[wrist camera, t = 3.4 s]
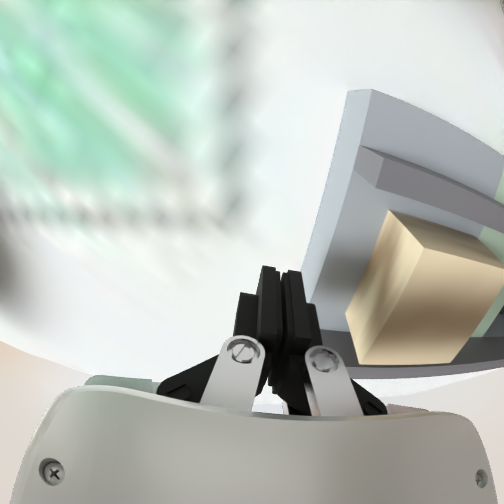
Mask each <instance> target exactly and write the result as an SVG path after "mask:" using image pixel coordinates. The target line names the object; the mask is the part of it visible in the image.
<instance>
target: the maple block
mask: <svg viewBox="0 0 504 504" xmlns="http://www.w3.org/2000/svg"><path fill="white" fill-rule="evenodd" d="M503 285H504V264H503V263H502V262H501V261H500V260H499V259H498V258H497V257H496V256H495V255H494V254H493V253H492V252H491V251H490V250H489V249H488V248H487V247H486V246H485V245H484V244H483V243H482V242H481V241H479V240H478V239H477V238H476V237H475V236H473V235H470V234H467V233H464V232H461V231H458V230H455V229H452V228H449V227H446V226H443V225H440V224H437V223H434V222H430V221H427V220H424V219H420V218H417V217H414V216H410V215H407V214H403V213H400V212H396V211H393V210H389V209H388V212H387V215H386V217H385V220H384V223H383V226H382V228H381V231H380V234H379V236H378V239H377V242H376V244H375V247H374V249H373V252H372V254H371V257H370V259H369V261H368V264H367V266H366V269H365V271H364V273H363V276H362V278H361V280H360V283H359V285H358V287H357V289H356V292H355V294H354V296H353V298H352V300H351V302H350V305H349V307H348V309H347V311H346V313H345V315H346V319H347V322H348V326H349V329H350V332H351V336H352V339H353V343H354V347H355V350H356V354H357V358H358V361H359V364H366V365H417V364H440V363H450V362H451V361H452V360H453V359H454V357H455V356H456V355H457V354H458V352H459V351H460V350H461V348H462V347H463V346H464V345H465V343H466V342H467V341H468V339H469V338H470V336H471V335H472V334H473V332H474V331H475V329H476V328H477V327H478V325H479V324H480V322H481V321H482V319H483V318H484V316H485V315H486V313H487V312H488V310H489V308H490V307H491V305H492V304H493V302H494V300H495V299H496V297H497V295H498V294H499V292H500V290H501V288H502V287H503Z"/></svg>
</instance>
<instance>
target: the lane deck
mask: <svg viewBox="0 0 504 504" xmlns="http://www.w3.org/2000/svg"><path fill="white" fill-rule="evenodd" d="M388 209H389V210H393V211H396V212H400V213H403V214H407V215H410V216H414V217H417V218H420V219H424V220H427V221H430V222H434V223H437V224H440V225H443V226H446V227H449V228H452V229H455V230H458V231H461V232H464V233H467V234H470V235H473V236H475V237H476V238H477V239H478V240H479V241H481V242H482V243H483V244H484V245H485V246H486V247H487V248H488V249H489V250H490V251H491V252H492V253H493V254H494V255H495V256H496V257H497V258H498V259H499V260H500V261H501V262H502V263H503V264H504V156H502V155H501V154H499V153H498V152H497V151H495V150H494V149H492V148H491V147H489V146H487V145H486V144H484V143H483V142H481V141H480V140H478V139H476V138H475V137H473V136H471V135H470V134H468V133H466V132H464V131H463V130H461V129H459V128H457V127H456V126H454V125H452V124H450V123H448V122H446V121H444V120H442V119H440V118H439V117H437V116H435V115H432V114H430V113H428V112H426V111H424V110H422V109H420V108H418V107H415V106H413V105H411V104H409V103H406V102H404V101H402V100H399V99H397V98H394V97H392V96H389V95H387V94H384V93H382V92H379V91H376V90H373V89H366V90H355V91H348V93H347V98H346V103H345V107H344V112H343V116H342V121H341V125H340V130H339V134H338V138H337V142H336V146H335V151H334V155H333V159H332V163H331V167H330V171H329V174H328V178H327V182H326V186H325V190H324V193H323V197H322V201H321V204H320V208H319V212H318V215H317V219H316V222H315V226H314V229H313V233H312V236H311V239H310V243H309V246H308V250H307V253H306V256H305V259H304V263H303V266H302V269H301V273H302V278H303V284H304V290H305V296H306V302H307V303H312V304H315V306H316V311H317V316H318V321H319V326H320V332H321V337H322V343H323V346H326V347H329V348H332V349H333V350H335V351H336V352H337V353H338V354H339V355H340V356H341V358H342V360H343V362H344V365H345V367H346V370H347V372H348V375H349V377H350V378H351V379H397V378H418V377H432V376H443V375H453V374H462V373H469V372H477V371H483V370H489V369H495V368H501V367H504V285H503V287H502V288H501V290H500V292H499V294H498V295H497V297H496V299H495V300H494V302H493V304H492V305H491V307H490V308H489V310H488V312H487V313H486V315H485V316H484V318H483V319H482V321H481V322H480V324H479V325H478V327H477V328H476V329H475V331H474V332H473V334H472V335H471V336H470V338H469V339H468V341H467V342H466V343H465V345H464V346H463V347H462V348H461V350H460V351H459V352H458V354H457V355H456V356H455V357H454V359H453V360H452V361H451V362H450V363H440V364H417V365H366V364H359V361H358V358H357V354H356V350H355V347H354V343H353V339H352V336H351V332H350V329H349V326H348V322H347V319H346V315H345V313H346V311H347V309H348V307H349V305H350V302H351V300H352V298H353V296H354V294H355V292H356V289H357V287H358V285H359V283H360V280H361V278H362V276H363V273H364V271H365V269H366V266H367V264H368V261H369V259H370V257H371V254H372V252H373V249H374V247H375V244H376V242H377V239H378V236H379V234H380V231H381V228H382V226H383V223H384V220H385V217H386V215H387V212H388Z"/></svg>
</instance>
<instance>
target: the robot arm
mask: <svg viewBox="0 0 504 504" xmlns="http://www.w3.org/2000/svg"><path fill="white" fill-rule="evenodd" d="M267 378H268V386H272V394H277V395H278V396H279V397H280V398H281V399H283V402H282V407H283V413H284V414H272V413H261V412H252V411H251V410H252V406H253V402H254V398H255V397H256V396H257V395H259V394H260V393H261V392H262V389H263V387H264V385H265V383H266V380H267ZM10 504H498V502H497V496H496V491H495V486H494V481H493V477H492V472H491V469H490V465H489V461H488V458H487V455H486V452H485V449H484V446H483V443H482V440H481V438H480V436H479V434H478V432H477V430H476V428H475V427H474V425H473V423H472V422H471V421H470V420H469V419H467V418H465V417H463V416H461V415H457V414H454V413H449V412H435V411H428V410H426V409H421V408H413V407H405V406H399V405H393V404H388V405H387V406H385V405H384V404H383V403H382V402H381V401H380V400H379V399H378V398H376V397H375V396H374V395H372V394H371V393H370V392H368V391H367V390H365V389H364V388H363V387H361V386H360V385H359V384H357V383H356V382H355V381H353V380H352V379H351V378H350V377H349V375H348V372H347V370H346V367H345V365H344V362H343V360H342V358H341V356H340V355H339V354H338V353H337V352H336V351H335V350H333V349H332V348H329V347H326V346H323V343H322V337H321V332H320V326H319V321H318V316H317V311H316V306H315V304H312V303H307V302H306V296H305V290H304V284H303V278H302V273H301V272H299V271H293V270H288V272H287V273H285V272H283V274H282V277H281V281H280V272H279V271H276V268H275V267H269V266H262V270H261V274H260V278H259V283H258V287H257V292H256V295H254V294H248V293H242V292H240V297H239V302H238V308H237V313H236V319H235V326H234V332H233V337H231V338H229V339H228V340H226V341H225V343H224V344H223V346H222V349H221V351H220V354H219V355H216V356H214V357H212V358H210V359H208V360H206V361H204V362H202V363H200V364H198V365H196V366H194V367H192V368H189V369H187V370H185V371H183V372H181V373H179V374H176V375H174V376H172V377H170V378H167V379H166V380H164V381H163V382H161V383H157V382H152V380H151V379H137V378H125V377H115V376H106V375H96V376H93V377H91V378H89V379H88V380H87V381H86V383H85V385H84V386H78V387H73V388H69V389H67V390H65V391H63V392H62V393H60V394H59V395H58V396H57V397H56V398H55V399H54V400H53V402H52V403H51V404H50V406H49V407H48V409H47V410H46V412H45V413H44V415H43V417H42V419H41V420H40V422H39V424H38V426H37V428H36V430H35V432H34V434H33V437H32V439H31V441H30V444H29V446H28V448H27V451H26V453H25V455H24V458H23V461H22V464H21V467H20V470H19V472H18V475H17V478H16V482H15V485H14V488H13V492H12V497H11V500H10Z"/></svg>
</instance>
